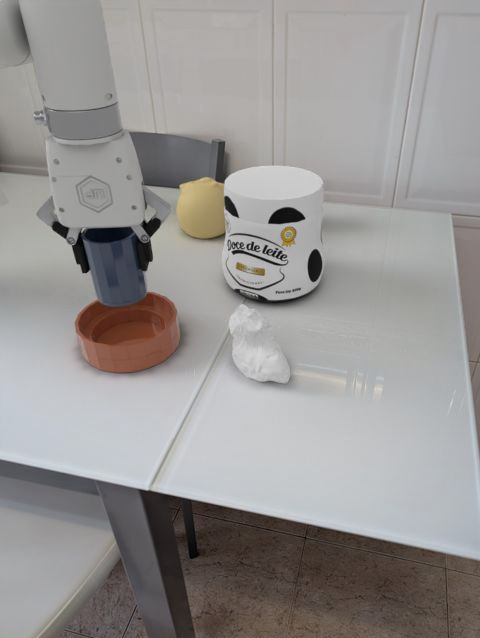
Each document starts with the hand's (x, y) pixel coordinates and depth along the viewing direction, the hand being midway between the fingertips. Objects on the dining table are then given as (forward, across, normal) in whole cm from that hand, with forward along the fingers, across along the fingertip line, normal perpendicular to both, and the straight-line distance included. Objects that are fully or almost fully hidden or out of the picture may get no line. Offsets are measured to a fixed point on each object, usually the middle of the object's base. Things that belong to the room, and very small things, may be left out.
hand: (116, 266), depth 65 cm
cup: (+4, 0, 0) cm, 4 cm away
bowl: (+13, 0, 0) cm, 13 cm away
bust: (+13, +18, -7) cm, 23 cm away
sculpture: (+13, +10, +38) cm, 41 cm away
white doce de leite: (+13, +22, +16) cm, 30 cm away
